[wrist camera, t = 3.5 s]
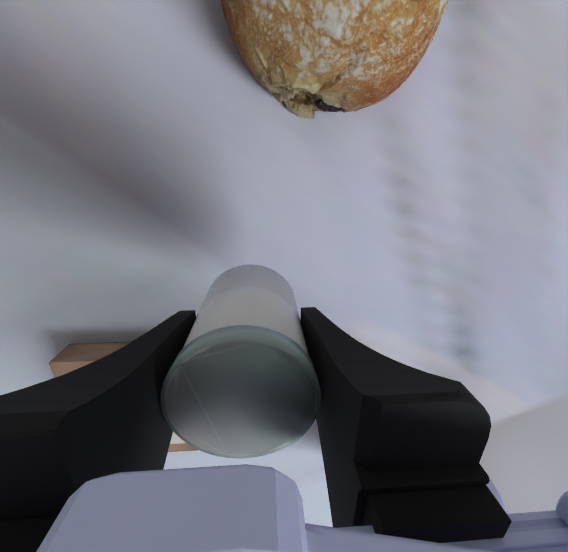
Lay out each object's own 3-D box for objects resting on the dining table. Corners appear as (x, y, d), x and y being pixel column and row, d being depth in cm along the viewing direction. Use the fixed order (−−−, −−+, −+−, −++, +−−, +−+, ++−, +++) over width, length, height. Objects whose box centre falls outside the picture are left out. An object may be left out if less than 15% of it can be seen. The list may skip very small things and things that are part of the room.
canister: (298, 261, 13) (325, 334, 7) (296, 343, 14) (317, 453, 9) (198, 263, 12) (146, 341, 7) (208, 347, 14) (173, 463, 9)
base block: (195, 340, 20) (188, 358, 18) (207, 427, 24) (202, 451, 22) (69, 344, 20) (47, 363, 18) (99, 434, 23) (83, 458, 21)
